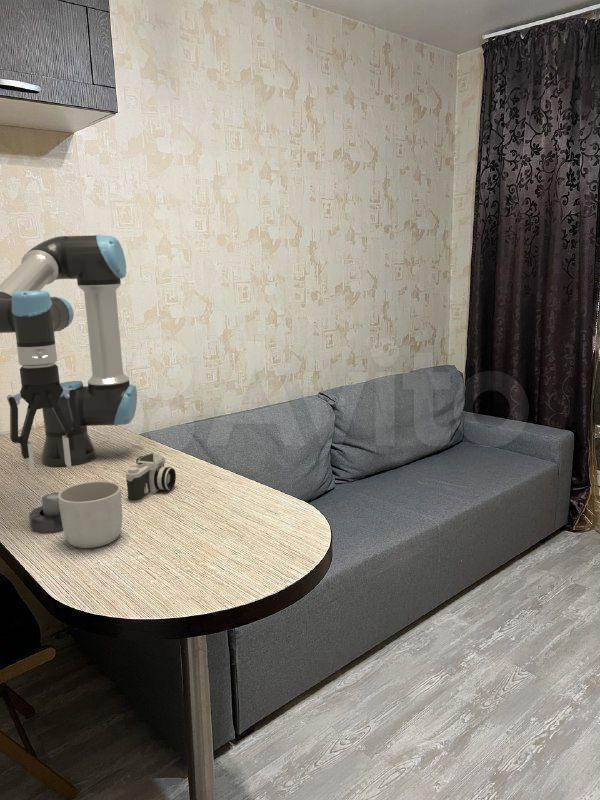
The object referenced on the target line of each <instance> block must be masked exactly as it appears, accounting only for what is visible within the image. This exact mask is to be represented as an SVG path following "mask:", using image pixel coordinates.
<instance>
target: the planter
mask: <svg viewBox="0 0 600 800" xmlns="http://www.w3.org/2000/svg"><path fill="white" fill-rule="evenodd" d="M58 493H59V494H58V502H59V508H60V515H61V521H62V527H63V531H62V532H63V534H64V537H65V539H66V541H67V543H68V544H69V545H72V546H73V547H75V548H79V549H94V548H99V547H103V546H106V545H109V544H111V543H112V542H114V541H115V540H117V538H118V537H119V536H120V534H121V532H122V529H123V528H122V526H123V503H122V488H121V486H120V484H118V483H116V482H113V481H108V480H107V481H106V480H93V481H84V482H80V483H75V484H72V485H70V486H68V487H65V488H63V489H62V490H60V491H59V492H58Z"/></svg>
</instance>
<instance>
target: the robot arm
mask: <svg viewBox="0 0 600 800" xmlns="http://www.w3.org/2000/svg"><path fill="white" fill-rule="evenodd" d="M126 262H127V261H126V256H125V253H124V249H123V247H122V245H121V243H120V241H119V239H117V238H116V237H114V236H112V235H106V234H105V235H102V234H97V235H68V236H67V235H60V236H55V237H52V238H49V239H47V240H45V241H42V242H40V243H38V244H36V245H35V246H33V247H32V248H31V249H30V250H28V251H27V252H25V254H24V255H23V257H22V258H21V263H20V265H18V267H16V268H15V269H14V270H13V272H11V274H9V275H8V276H7V277H6V278H5V279H3V281H2V282H1V283H0V334H4V333H5V334H6V333H7V334H8V333H9V334H11V333H15V339H16V350H17V360H18V364H19V365H20V366H21V367H20V368H19V374H20V384H21V387H20V388H21V389H20V391H19V392H18V393H16V394H13V395H11V394H9V395H7V396H6V400H7V402H8V404H9V434H10V435H9V439H10V441H11V442H12V443H13V444H19V445H20V451H21V456H22V457H23V459H27V463H28V471H29V473H30V474H36V468H35V461H34V454H33V444H32V443H31V441H30V440H29V437H30V435H31V430H32V427H33V423H34V419H35V416H36V414H37V410H41V409H42V415H43V425H44V432H45V439H44V443H43V449H42V451H41V461H42V462H41V463H42V465H43V466H45V467H48V468H70V467H76V466H81V465H85V464H88V463H90V462H92V461H94V460H95V459H96V458H97V453H96V448H95V445H94V444H93V442H92V439H91V437H90V435H89V432H88V427H92V426H93V427H95V426H115V427H117V426H120V425H121V426H122V425H128V424H130V423H132V421H133V419H134V417H135V416H136V415H135V414H136V410H137V405H138V392H137V386H135V385H134V384H130V377H128V376H127V375H126V374H125V372H124V367H123V354H122V347H121V346H122V344H121V333H120V321H119V311H118V301H117V300H118V299H117V289H118V288H120V287H121V285H122V283H121V279H124V278H125V277H126V275H127V263H126ZM56 280H57V281H58V280H76V283H77V287H78V288H79V289H81V290H82V291H83V293H84V294H83V296H84V305H85V313H86V315H85V316H86V324H87V325H86V326H87V334H88V342H89V343H88V345H89V352H90V353H89V355H90V361H91V364H90V365H91V372H92V376H91V377H89V379H88V380H87V385H86V386H84V383H83V381H82V380H71V381H65V382H60V375H59V366H58V365H57V364H55V363H57V361H58V357H57V356H58V355H57V347H56V338H55V337H56V336H55V332H60V331H62V330H65V329H66V328H68V327H69V326H70V325H71V324H72V322H73V321H74V320H73V319H74V317H75V316H74V315H75V314H74V309H73V307H72V305H71V303H70V302H69V301H68V300H66V299H65V298H62V297H57V296H51V294H50V293H49V292H48V291H47V290H43V288H44V287H45V286H46V285H50V284H52V283H54V282H55V281H56ZM21 399H23V400H24V401H25V402H26V403H27V404H28V405H27V408H26V414H25V417H24V418H25V419H24V423H23V426H22V430H21V433H20V436H19V407H18V406H19V405H20V404H21Z"/></svg>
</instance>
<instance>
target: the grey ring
mask: <svg viewBox="0 0 600 800" xmlns="http://www.w3.org/2000/svg"><path fill="white" fill-rule="evenodd" d="M28 516H29V517H28V518H29V525H30V528H31V530H32V532H34V533H38V534H42V535H44V534H57V533H61V532H64V531H63V527H62V521H61V515H59V516H55V517H45V516H44V513H43V505H41V506H38V507H36V508H34V509H32V510H31V512H30V513H29V514H28Z"/></svg>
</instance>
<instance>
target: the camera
mask: <svg viewBox="0 0 600 800" xmlns="http://www.w3.org/2000/svg"><path fill="white" fill-rule="evenodd" d="M165 463H166V458H165V456H163V455H162V454H160V453H159V452H153V453H149V454H145V455H141V456H139V457H137V458H136V460H135V464H132V465H131V466H130V467H129V468H127V470H126V472H125V474H126V478H125V480H126V488H127V499H128V501H129V502H130V503H139V502H140V503H141V502H142V501H143V500H146V498H147V497H149V496H150V495H151V494H156V493H157V492H159V491H160V490H161V491H163V490H164V491H171V490H172V489H173V488H174V487H175V484H176V480H177V473H176V470H175V469H174V468H173V467H172V466H165ZM148 495H149V496H148Z"/></svg>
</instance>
